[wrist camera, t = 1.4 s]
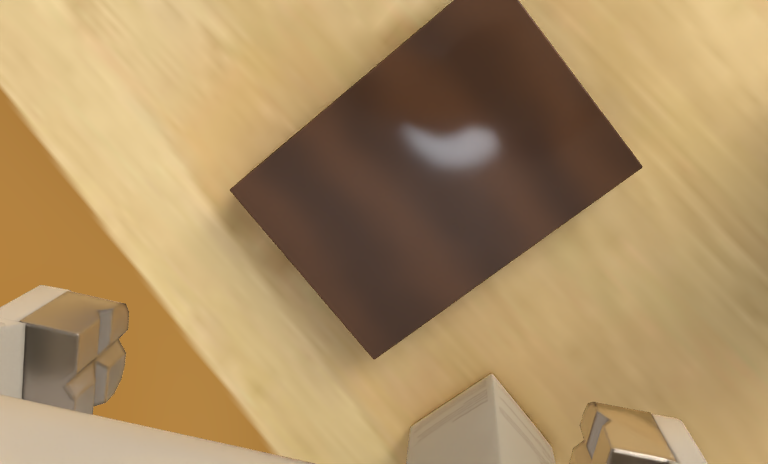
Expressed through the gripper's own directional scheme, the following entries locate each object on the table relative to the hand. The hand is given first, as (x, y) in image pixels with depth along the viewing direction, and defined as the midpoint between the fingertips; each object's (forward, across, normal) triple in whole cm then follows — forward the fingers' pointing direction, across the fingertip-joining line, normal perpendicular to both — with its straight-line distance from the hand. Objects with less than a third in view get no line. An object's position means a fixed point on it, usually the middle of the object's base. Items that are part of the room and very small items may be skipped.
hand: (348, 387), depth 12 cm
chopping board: (+34, -1, +2) cm, 34 cm away
